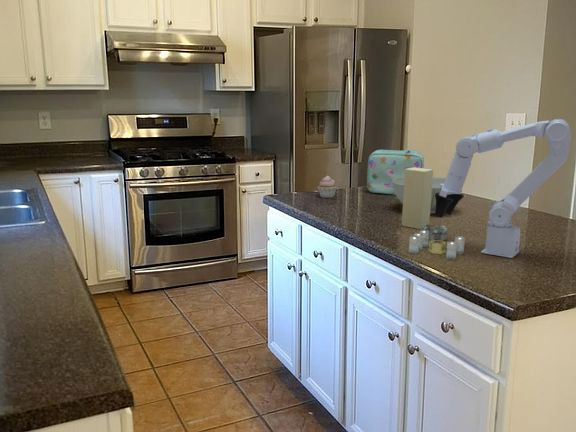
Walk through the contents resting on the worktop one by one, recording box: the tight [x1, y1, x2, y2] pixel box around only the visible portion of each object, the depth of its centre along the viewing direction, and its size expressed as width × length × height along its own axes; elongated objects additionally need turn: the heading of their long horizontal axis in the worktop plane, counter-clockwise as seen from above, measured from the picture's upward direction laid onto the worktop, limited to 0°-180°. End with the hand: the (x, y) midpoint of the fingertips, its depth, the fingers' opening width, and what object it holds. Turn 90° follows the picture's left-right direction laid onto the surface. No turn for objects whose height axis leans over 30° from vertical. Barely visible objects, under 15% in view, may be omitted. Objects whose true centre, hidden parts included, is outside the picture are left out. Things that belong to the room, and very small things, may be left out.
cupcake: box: [316, 175, 339, 199], centre depth 260 cm, size 9×9×10 cm
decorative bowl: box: [391, 176, 446, 215], centre depth 233 cm, size 27×27×12 cm
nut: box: [428, 239, 447, 255], centre depth 177 cm, size 5×5×3 cm
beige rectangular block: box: [401, 167, 434, 230], centre depth 207 cm, size 8×7×21 cm
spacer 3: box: [419, 229, 429, 248], centre depth 183 cm, size 3×3×5 cm
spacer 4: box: [445, 240, 457, 261], centre depth 170 cm, size 3×3×5 cm
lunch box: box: [366, 148, 426, 196], centre depth 267 cm, size 27×10×21 cm, turn 72°
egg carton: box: [422, 222, 449, 241], centre depth 195 cm, size 11×8×4 cm
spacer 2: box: [413, 232, 423, 251], centre depth 179 cm, size 3×3×5 cm
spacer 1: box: [408, 235, 419, 255], centre depth 175 cm, size 3×3×5 cm
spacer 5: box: [454, 235, 466, 255], centre depth 175 cm, size 3×3×5 cm
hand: (442, 215), depth 181 cm, fingers open, 7 cm apart
